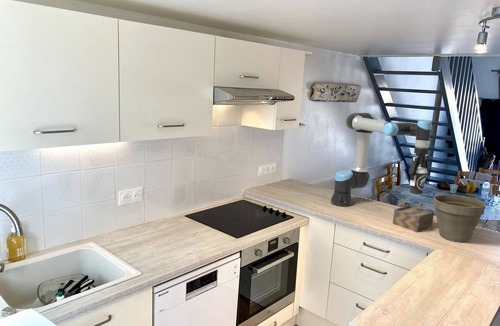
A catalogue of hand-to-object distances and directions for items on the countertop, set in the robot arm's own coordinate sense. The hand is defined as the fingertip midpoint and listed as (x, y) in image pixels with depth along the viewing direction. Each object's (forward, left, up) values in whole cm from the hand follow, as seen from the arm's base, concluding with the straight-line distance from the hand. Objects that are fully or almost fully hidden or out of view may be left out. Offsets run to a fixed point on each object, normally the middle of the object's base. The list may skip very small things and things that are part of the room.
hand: (417, 184), depth 214 cm
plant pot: (+23, +3, -26) cm, 35 cm away
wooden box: (0, 0, -26) cm, 26 cm away
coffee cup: (0, 0, -5) cm, 5 cm away
